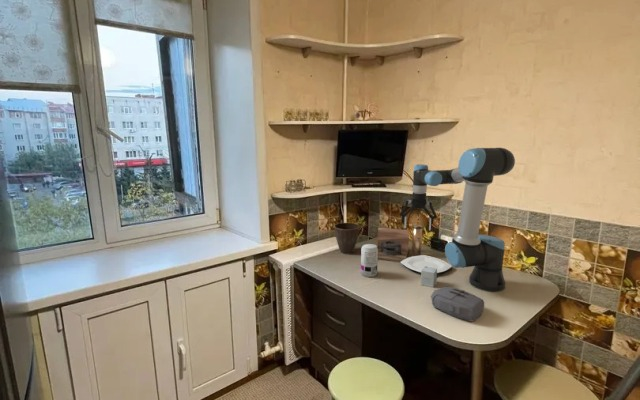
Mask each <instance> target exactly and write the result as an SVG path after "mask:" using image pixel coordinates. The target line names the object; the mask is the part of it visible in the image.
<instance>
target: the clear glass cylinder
mask: <svg viewBox="0 0 640 400" xmlns="http://www.w3.org/2000/svg"><path fill="white" fill-rule="evenodd" d="M423 227H424V226H423V225H421V224H413V225H412V239H411V240H412V242H411V243H412V244H411V257H413V256H420V255H422V239H423V236H422V235H423Z"/></svg>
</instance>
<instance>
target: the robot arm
mask: <svg viewBox="0 0 640 400" xmlns="http://www.w3.org/2000/svg"><path fill="white" fill-rule="evenodd" d="M515 164H516V158H515V155H514V154H513V152H512V151H510V150H509V149H507V148H505V147H475V148H469V149H467V150H466V151H464V152H463V153H462V154H461V155H460V158H459V160H458V167H456V168H451V169H441V170H440V169H438V170H430V169H429V166H428V165H427V164H421V163H420V164H415V165H414V167H413V172H412V173H413V174H412V175H413V176H412V178H413V179H412V197H411V200H410V199H407V200H406V202H405V203H404V206H403V207H402V210H401V211H400V213H399V216H401V217H402V222H403V223H404V224H403V225H404V226H403V227H404V229H406V228H407V216H408V215H409V213H411V211H412V210H414V209H418V210H422V209H423V210H424V211H425V213H426V214H427V216H429V224H428V225H429V226H428V231H431V228H432V227H431V226H432V225H434V219H437V218H438V216H437V212H436V211H435V209H434V206H433V202H432V200H430V201H427V192H428V191H427V189H428V186H430V187H439V185H458V184H461V183H463V182H464V183H465V184H464V191H463V197H462V203H461V207H460V214H459V219H458V227H457V232H456V233H455V234H453V235H452V238H451V241H449V242H447V243H446V244H445V248H444V255H445V257H446V260H447V261H448V264H450V265H452V267H454V268H461V269H462V268H463V269H464V268H470V267H473V268H472V271H471V273H470V275H469V280H468V281H469V284H470V285H471V286H473V287H475V288H477V289H479V290H481V291H485V292H486V291H488V292H500V291H503V290H504V289H505V286H506V281H505V277H504V274H503V265H504V257H505V250H506V249H505V241H504V240H503V239H502V238H499V237H495V236H492V235H487V234H479V231H480V228H481V227H480V226H481V222H482V217H483V210H484V206H485V202H486V201H485V200H486V196H487V191H488V186H489V185H491V184H492V183H493V181H494V177H495V176H504V175H507V174H509V173H510V172H511V171H512V170H513V169H514V167H515ZM410 204H411V206H410V207H409V208H408V209H407V207H408V206H409V205H410ZM426 205H428V206H429V208H430V210H431V211H429V209H428V208H427V206H426ZM406 209H407V211H405V210H406Z"/></svg>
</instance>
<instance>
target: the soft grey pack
mask: <svg viewBox="0 0 640 400" xmlns="http://www.w3.org/2000/svg"><path fill="white" fill-rule="evenodd" d="M430 299H431V301H432V303H431V304H432V305H433V306H432V307H433V308H437V309H438V310H439V311H441V312H442V313H445V314H447V315H449V316H450V317H451V316H452V317H455V318H458V319H460V320H464V321H467V322H468V321H469V322H475V321H476V320H477V319H479V318H480V317H481V315H482V313H483V312H484V308H485V301H484V299H482V298H481V297H479V296H477V295H475V294H473V293H471V292H468V291H466V290H464V289H460V288H456V287H452V286H451V287H448V286H443V287H440V288H437V289H435V290H434V291H433V292H432V293H431V295H430Z"/></svg>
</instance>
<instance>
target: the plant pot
mask: <svg viewBox="0 0 640 400" xmlns="http://www.w3.org/2000/svg"><path fill="white" fill-rule="evenodd" d="M333 227H334V233H335V237H336V238H335V239H336V244H337V246H338V249H339V251H340V253H342V254H352V253H353V252H354V249H355V247H356V243H357V241H358V238H359V232H360V225H359V224H356V223H352V222H339V223H336V224H334V225H333Z"/></svg>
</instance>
